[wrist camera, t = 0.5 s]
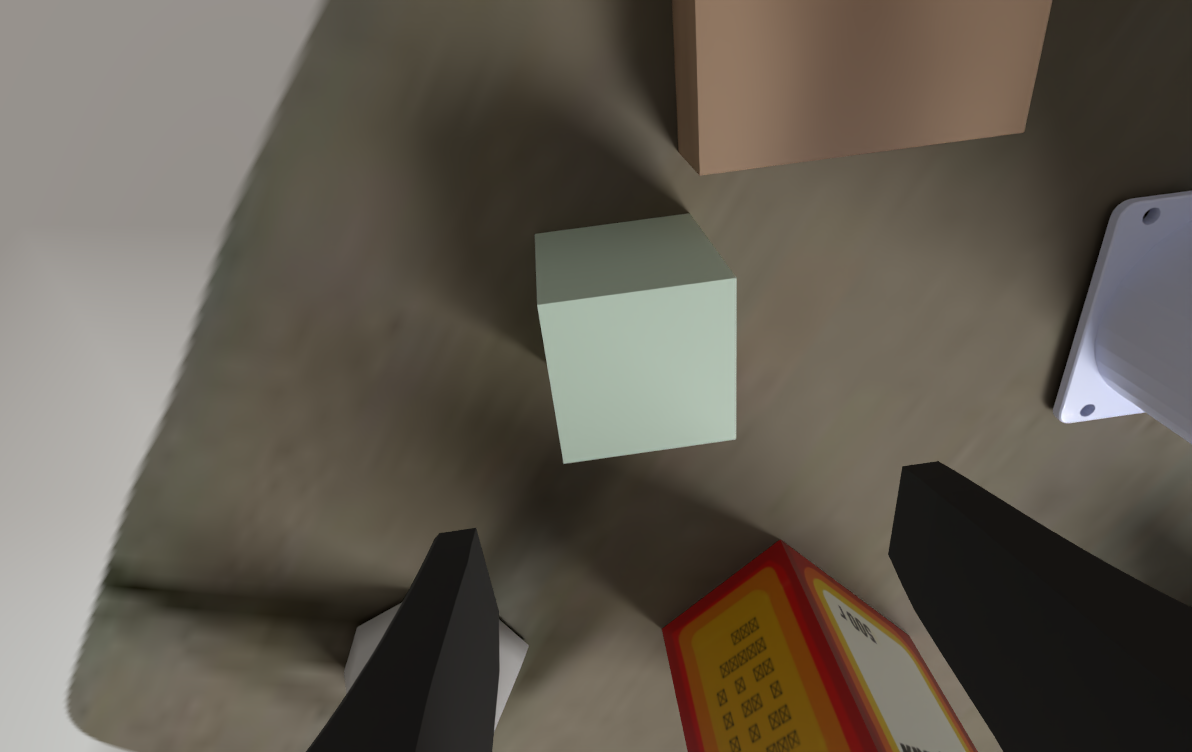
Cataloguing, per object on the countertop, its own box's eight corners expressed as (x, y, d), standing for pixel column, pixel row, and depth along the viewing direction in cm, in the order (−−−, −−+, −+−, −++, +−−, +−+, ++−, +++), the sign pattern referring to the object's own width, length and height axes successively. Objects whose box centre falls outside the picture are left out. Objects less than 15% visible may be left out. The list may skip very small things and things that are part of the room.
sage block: (689, 212, 19) (736, 277, 15) (694, 348, 21) (736, 439, 17) (534, 233, 19) (537, 304, 15) (556, 367, 21) (563, 463, 17)
